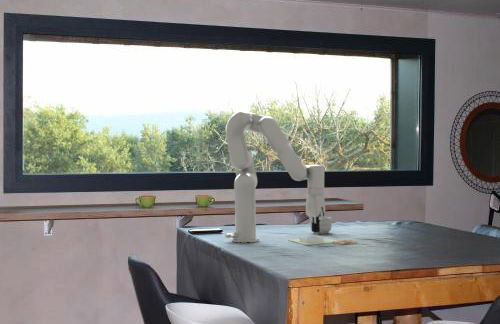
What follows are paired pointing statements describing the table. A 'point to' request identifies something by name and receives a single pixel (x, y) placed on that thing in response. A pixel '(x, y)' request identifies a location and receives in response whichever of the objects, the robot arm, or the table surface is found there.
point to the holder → (344, 242)
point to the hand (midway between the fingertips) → (315, 231)
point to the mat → (313, 242)
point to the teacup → (324, 225)
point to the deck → (311, 239)
